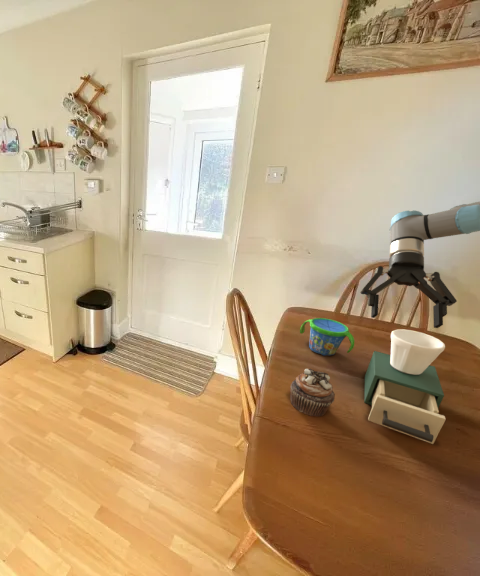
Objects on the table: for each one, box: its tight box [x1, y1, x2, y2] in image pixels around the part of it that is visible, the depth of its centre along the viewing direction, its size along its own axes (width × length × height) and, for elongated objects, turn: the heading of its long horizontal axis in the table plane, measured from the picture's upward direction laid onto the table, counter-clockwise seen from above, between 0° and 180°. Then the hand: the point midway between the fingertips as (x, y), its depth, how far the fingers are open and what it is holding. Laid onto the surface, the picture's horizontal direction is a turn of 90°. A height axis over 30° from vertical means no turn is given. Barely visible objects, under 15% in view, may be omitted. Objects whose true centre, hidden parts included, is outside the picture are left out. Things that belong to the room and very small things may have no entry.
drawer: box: [367, 379, 446, 445], centre depth 76 cm, size 18×11×7 cm, turn 141°
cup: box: [390, 328, 446, 375], centre depth 81 cm, size 10×10×9 cm
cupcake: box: [290, 368, 336, 417], centre depth 82 cm, size 10×10×10 cm
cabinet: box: [363, 350, 445, 408], centre depth 84 cm, size 15×13×9 cm
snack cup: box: [299, 317, 355, 357], centre depth 106 cm, size 16×10×10 cm
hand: (405, 321), depth 88 cm, fingers open, 13 cm apart
